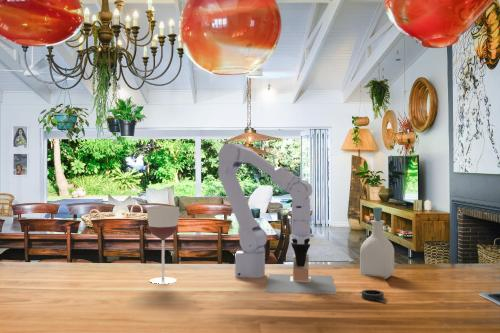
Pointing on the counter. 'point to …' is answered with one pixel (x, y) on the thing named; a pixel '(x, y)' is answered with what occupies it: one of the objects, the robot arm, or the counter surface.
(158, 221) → the wineglass
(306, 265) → the top block
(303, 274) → the base block
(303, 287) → the board
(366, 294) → the duct tape
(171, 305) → the counter surface
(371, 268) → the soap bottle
